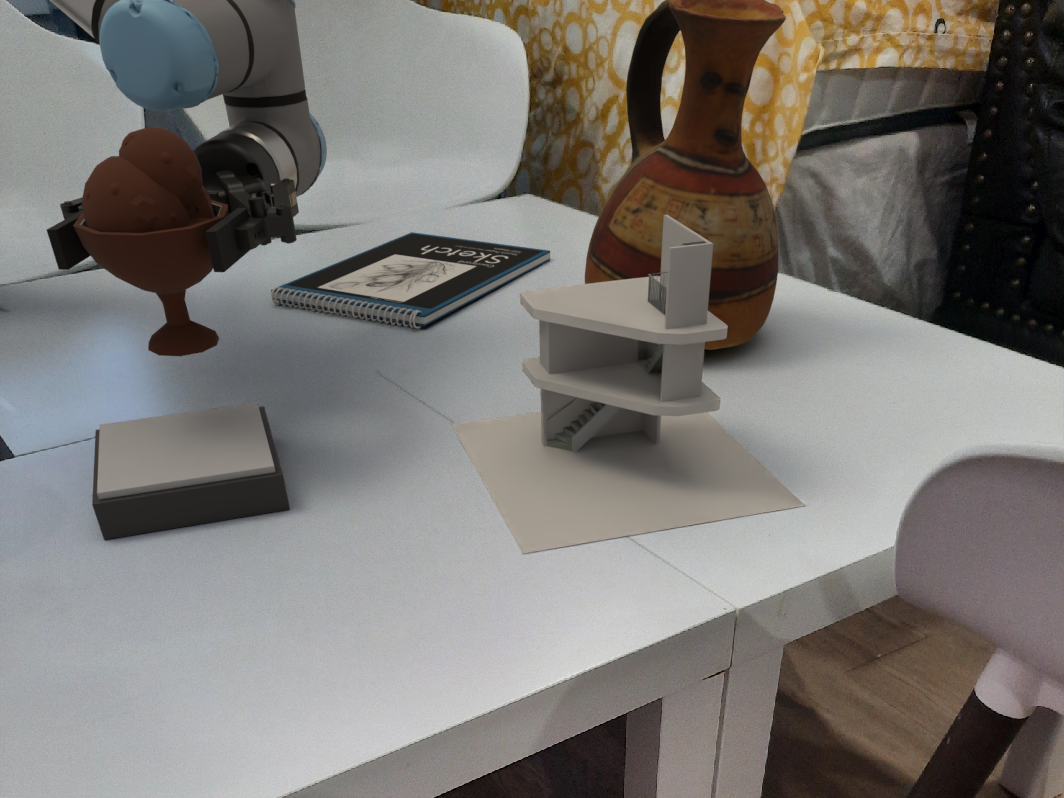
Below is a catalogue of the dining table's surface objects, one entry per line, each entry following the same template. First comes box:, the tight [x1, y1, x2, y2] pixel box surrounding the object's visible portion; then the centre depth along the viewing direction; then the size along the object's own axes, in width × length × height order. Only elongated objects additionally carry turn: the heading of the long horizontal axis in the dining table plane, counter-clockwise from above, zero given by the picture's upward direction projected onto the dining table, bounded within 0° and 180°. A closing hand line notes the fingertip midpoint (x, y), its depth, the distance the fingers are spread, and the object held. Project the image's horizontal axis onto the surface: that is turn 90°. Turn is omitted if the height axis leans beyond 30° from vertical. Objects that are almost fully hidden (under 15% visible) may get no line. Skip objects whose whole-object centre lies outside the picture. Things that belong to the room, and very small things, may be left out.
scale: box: [91, 402, 291, 541], centre depth 82 cm, size 14×14×4 cm
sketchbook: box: [270, 231, 551, 330], centre depth 123 cm, size 22×30×2 cm
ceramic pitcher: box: [584, 0, 787, 351], centre depth 98 cm, size 20×20×30 cm
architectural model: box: [451, 215, 806, 554], centre depth 79 cm, size 23×24×18 cm
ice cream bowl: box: [73, 126, 228, 357], centre depth 75 cm, size 11×11×15 cm
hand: (135, 251), depth 72 cm, fingers closed on ice cream bowl, 11 cm apart
